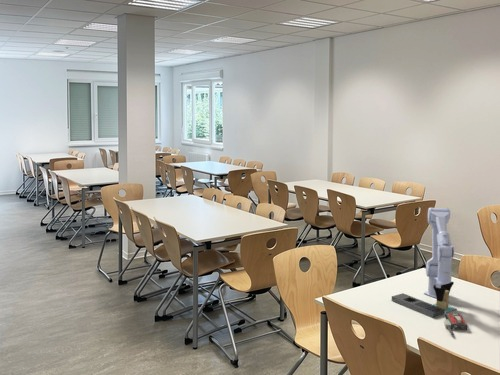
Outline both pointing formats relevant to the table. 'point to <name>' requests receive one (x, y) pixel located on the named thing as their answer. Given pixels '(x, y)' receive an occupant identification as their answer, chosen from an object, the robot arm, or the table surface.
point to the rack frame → (418, 305)
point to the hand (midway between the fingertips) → (442, 298)
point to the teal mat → (448, 308)
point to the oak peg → (445, 301)
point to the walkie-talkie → (455, 322)
